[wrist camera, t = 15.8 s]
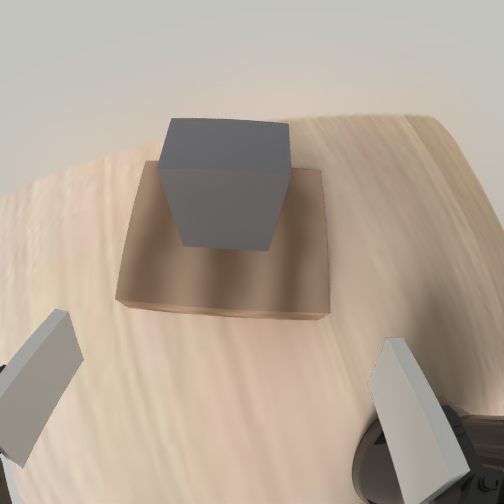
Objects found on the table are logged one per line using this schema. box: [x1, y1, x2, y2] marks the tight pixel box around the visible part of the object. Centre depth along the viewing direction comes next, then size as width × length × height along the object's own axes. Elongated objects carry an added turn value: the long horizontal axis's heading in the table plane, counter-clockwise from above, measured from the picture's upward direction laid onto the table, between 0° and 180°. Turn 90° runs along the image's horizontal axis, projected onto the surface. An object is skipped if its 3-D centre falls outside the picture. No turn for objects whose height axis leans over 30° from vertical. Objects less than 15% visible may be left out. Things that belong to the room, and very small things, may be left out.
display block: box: [115, 161, 330, 320], centre depth 31 cm, size 20×16×4 cm
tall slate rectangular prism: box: [157, 118, 291, 251], centre depth 23 cm, size 8×5×12 cm, turn 88°
